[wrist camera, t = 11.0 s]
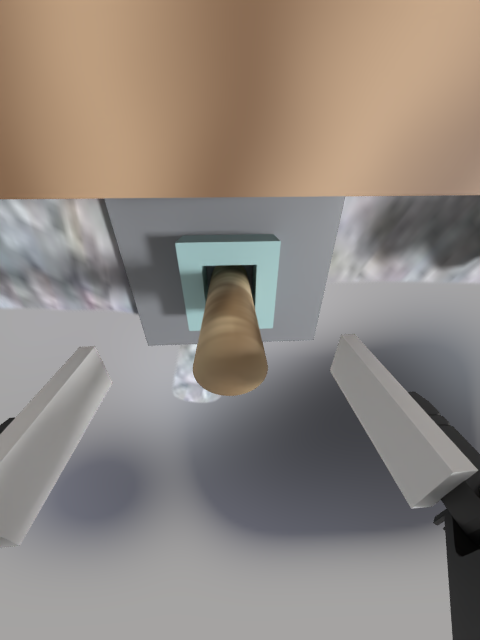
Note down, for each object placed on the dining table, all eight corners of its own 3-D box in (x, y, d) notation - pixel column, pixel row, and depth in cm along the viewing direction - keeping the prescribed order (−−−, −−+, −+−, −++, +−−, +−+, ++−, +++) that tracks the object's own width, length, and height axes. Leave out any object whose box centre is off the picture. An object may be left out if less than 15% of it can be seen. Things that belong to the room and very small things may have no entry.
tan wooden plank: (108, 194, 19) (-178, 200, 6) (79, 95, 16) (-796, -473, 2) (341, 192, 20) (575, 194, 7) (361, 97, 17) (940, -314, 3)
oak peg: (212, 295, 24) (197, 397, 12) (209, 260, 22) (188, 342, 10) (247, 294, 24) (265, 394, 12) (247, 260, 22) (270, 340, 10)
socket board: (150, 340, 28) (138, 364, 24) (76, 85, 16) (27, 51, 12) (310, 335, 29) (323, 357, 25) (363, 88, 16) (403, 57, 13)
